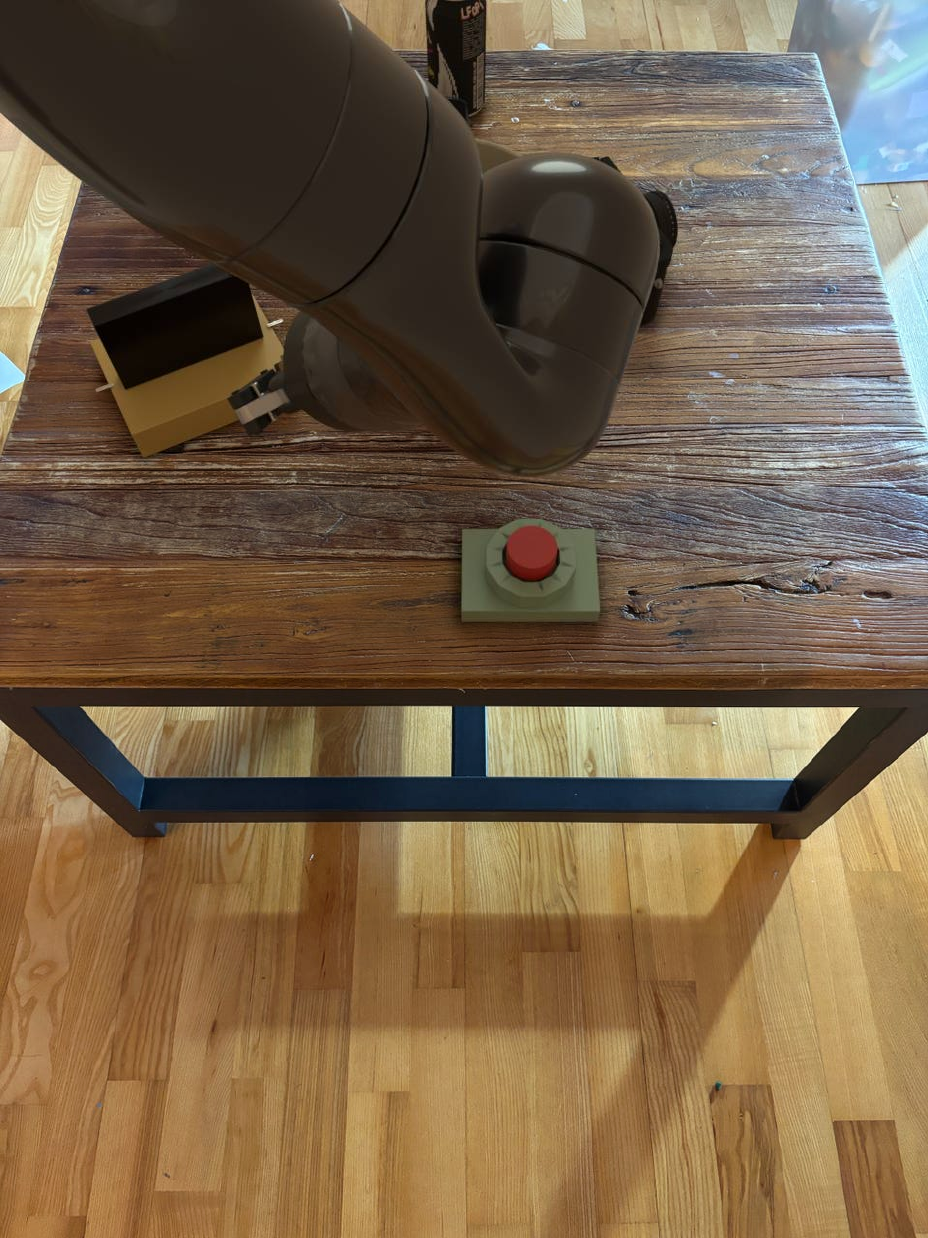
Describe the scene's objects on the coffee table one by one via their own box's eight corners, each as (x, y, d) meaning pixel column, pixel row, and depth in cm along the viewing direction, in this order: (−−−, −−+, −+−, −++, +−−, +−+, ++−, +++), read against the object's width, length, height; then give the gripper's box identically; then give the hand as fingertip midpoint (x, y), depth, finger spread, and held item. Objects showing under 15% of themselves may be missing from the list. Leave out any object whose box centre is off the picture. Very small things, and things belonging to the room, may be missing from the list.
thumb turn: (125, 390, 74) (92, 323, 67) (117, 373, 75) (84, 306, 68) (264, 337, 76) (245, 268, 70) (255, 321, 77) (235, 251, 71)
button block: (461, 621, 68) (461, 599, 64) (462, 540, 71) (461, 515, 68) (597, 622, 68) (603, 599, 64) (592, 540, 71) (597, 515, 68)
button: (506, 580, 66) (507, 568, 64) (505, 537, 67) (506, 525, 66) (556, 581, 66) (558, 568, 64) (554, 538, 67) (556, 525, 66)
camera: (702, 310, 81) (724, 236, 74) (631, 335, 80) (646, 262, 73) (624, 209, 87) (638, 131, 80) (557, 231, 86) (565, 154, 79)
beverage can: (430, 88, 96) (426, -37, 85) (485, 90, 96) (487, -36, 85) (427, 124, 93) (422, -1, 83) (484, 125, 93) (485, 1, 82)
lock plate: (130, 463, 74) (117, 438, 72) (89, 371, 79) (75, 344, 76) (314, 390, 78) (308, 364, 75) (265, 305, 82) (258, 277, 79)
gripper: (447, 227, 47) (343, 278, 63) (225, 348, 44) (173, 370, 59) (508, 362, 50) (394, 379, 65) (304, 486, 46) (234, 473, 62)
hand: (289, 375), depth 62 cm, fingers closed
